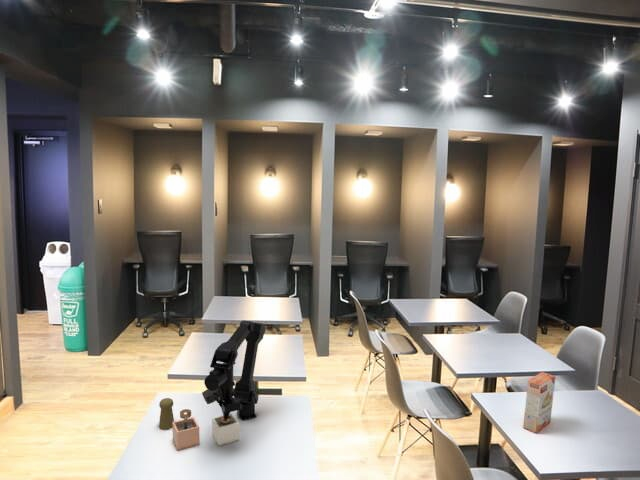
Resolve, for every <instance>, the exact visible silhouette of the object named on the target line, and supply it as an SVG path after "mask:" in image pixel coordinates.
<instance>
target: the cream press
mask: <svg viewBox="0 0 640 480" xmlns="http://www.w3.org/2000/svg"><path fill="white" fill-rule="evenodd" d="M222 416H223V415H220V416H216V417H212V418H211V422H212V423H211V427H212V429H211V435H212V437H213V439H214V441H215V443H216V444H217V446H218V447H219V446H223V445H226V444H231V443H234V442H239V441H240V422H239V420H238V419H237V418H236V416H235V415H234V413H232V412H230V414H229V416H230V417H231V423H230V424H228V425H225V426H224V425H222V424H220V418H221V417H222Z"/></svg>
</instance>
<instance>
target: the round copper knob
mask: <svg viewBox="0 0 640 480" xmlns="http://www.w3.org/2000/svg"><path fill="white" fill-rule="evenodd" d="M221 416H222V417H221V418H220V424H222V425H224V426H225V425H228V424H230V423H231V417H230V416H228V418H227V419H224V417H223V415H221Z"/></svg>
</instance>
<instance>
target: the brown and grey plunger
mask: <svg viewBox="0 0 640 480" xmlns="http://www.w3.org/2000/svg"><path fill="white" fill-rule="evenodd" d="M179 418H180V419H181V420H184V425H181V426H177V429H178V431H182V430H186V429H190V428H194V426H193V424H192V423H189V424H187V419H188V418H192V410H191V409H187V408H186V409H181V410H180V412H179Z"/></svg>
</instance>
